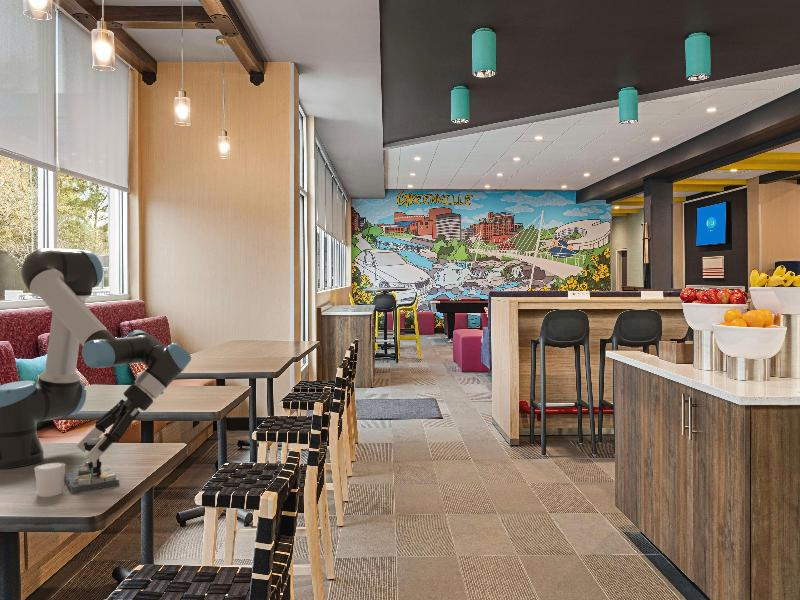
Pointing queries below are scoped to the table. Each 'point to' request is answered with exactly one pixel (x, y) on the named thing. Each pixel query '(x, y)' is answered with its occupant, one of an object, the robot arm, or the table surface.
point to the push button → (96, 467)
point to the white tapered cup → (50, 479)
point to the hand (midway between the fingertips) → (84, 454)
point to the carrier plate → (90, 479)
